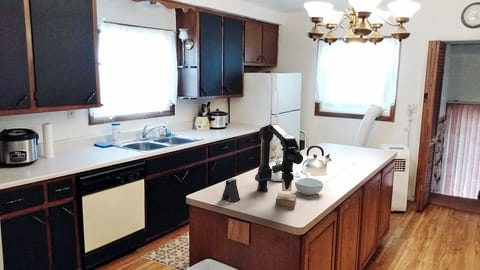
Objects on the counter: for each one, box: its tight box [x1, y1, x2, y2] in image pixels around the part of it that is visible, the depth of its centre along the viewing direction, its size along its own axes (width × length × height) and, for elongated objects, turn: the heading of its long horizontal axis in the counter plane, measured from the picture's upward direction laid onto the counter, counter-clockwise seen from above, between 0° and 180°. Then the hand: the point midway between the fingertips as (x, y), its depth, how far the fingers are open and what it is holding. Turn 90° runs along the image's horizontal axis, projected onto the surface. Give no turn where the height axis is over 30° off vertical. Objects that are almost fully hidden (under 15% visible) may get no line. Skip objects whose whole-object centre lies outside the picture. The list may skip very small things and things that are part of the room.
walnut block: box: [275, 192, 297, 210], centre depth 205 cm, size 10×10×5 cm
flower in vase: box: [269, 143, 283, 182], centre depth 251 cm, size 13×11×25 cm
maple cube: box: [281, 179, 293, 192], centre depth 204 cm, size 5×5×5 cm
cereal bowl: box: [294, 177, 324, 196], centre depth 227 cm, size 17×17×7 cm
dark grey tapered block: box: [221, 178, 241, 204], centre depth 211 cm, size 9×6×12 cm, turn 50°
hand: (286, 187), depth 204 cm, fingers closed on maple cube, 5 cm apart
